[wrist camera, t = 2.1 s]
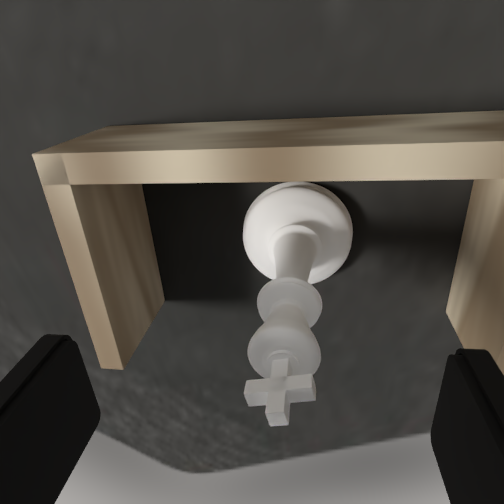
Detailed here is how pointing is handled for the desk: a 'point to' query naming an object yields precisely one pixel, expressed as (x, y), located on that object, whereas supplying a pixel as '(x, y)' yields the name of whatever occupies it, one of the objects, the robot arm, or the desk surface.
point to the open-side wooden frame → (265, 170)
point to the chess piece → (291, 288)
